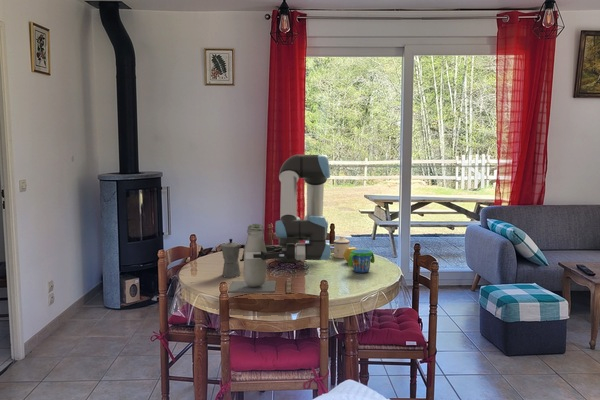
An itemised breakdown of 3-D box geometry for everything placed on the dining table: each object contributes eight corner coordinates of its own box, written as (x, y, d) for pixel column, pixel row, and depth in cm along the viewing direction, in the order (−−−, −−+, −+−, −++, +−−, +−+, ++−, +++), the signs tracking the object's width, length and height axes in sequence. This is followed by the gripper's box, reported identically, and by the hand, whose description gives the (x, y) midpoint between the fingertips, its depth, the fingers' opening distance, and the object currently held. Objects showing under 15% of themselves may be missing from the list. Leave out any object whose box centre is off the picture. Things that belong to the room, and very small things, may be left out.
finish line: (286, 281, 228) (286, 279, 228) (291, 280, 228) (291, 279, 228) (286, 293, 208) (286, 292, 208) (291, 293, 208) (291, 292, 208)
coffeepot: (214, 276, 237) (213, 239, 235) (224, 271, 246) (223, 236, 244) (243, 279, 231) (242, 241, 229) (252, 274, 240) (251, 238, 238)
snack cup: (367, 267, 252) (367, 248, 251) (380, 271, 242) (380, 251, 242) (342, 271, 244) (342, 251, 243) (354, 275, 235) (354, 254, 234)
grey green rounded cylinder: (247, 290, 211) (247, 226, 208) (241, 284, 220) (241, 222, 217) (269, 288, 215) (269, 225, 211) (261, 281, 224) (262, 221, 221)
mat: (232, 282, 226) (232, 281, 226) (276, 281, 227) (276, 280, 227) (228, 292, 211) (228, 291, 210) (274, 291, 211) (274, 290, 211)
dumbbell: (370, 269, 248) (370, 253, 247) (353, 270, 246) (353, 254, 245) (358, 261, 266) (358, 246, 265) (342, 262, 264) (342, 247, 263)
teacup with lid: (348, 254, 282) (348, 234, 281) (351, 258, 273) (351, 237, 272) (327, 255, 281) (327, 235, 280) (329, 258, 272) (329, 238, 271)
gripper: (295, 267, 204) (244, 267, 204) (295, 253, 229) (249, 254, 229) (295, 249, 203) (244, 249, 203) (295, 238, 228) (249, 238, 228)
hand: (246, 252), depth 216 cm, fingers open, 13 cm apart
